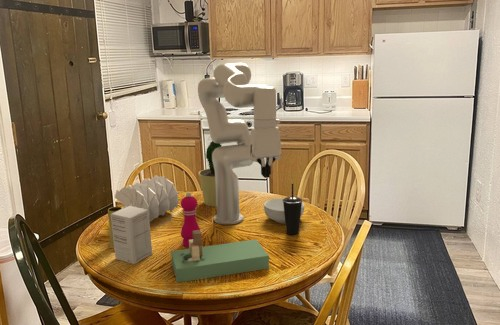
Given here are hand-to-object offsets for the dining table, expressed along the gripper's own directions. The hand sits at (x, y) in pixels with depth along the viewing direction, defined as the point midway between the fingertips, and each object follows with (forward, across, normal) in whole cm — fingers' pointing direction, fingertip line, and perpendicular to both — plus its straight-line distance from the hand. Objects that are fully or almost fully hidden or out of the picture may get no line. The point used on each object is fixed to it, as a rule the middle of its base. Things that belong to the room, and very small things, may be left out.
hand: (266, 176), depth 161 cm
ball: (+25, +28, +7) cm, 38 cm away
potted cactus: (+27, +6, -58) cm, 64 cm away
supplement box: (+27, +46, -10) cm, 54 cm away
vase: (+27, +51, -22) cm, 62 cm away
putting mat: (+27, +19, +7) cm, 34 cm away
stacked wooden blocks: (+22, +26, +7) cm, 35 cm away
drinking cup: (+27, -14, -11) cm, 33 cm away
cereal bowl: (+27, -16, -26) cm, 41 cm away
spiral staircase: (+27, +37, -47) cm, 66 cm away
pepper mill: (+27, +25, -14) cm, 40 cm away
